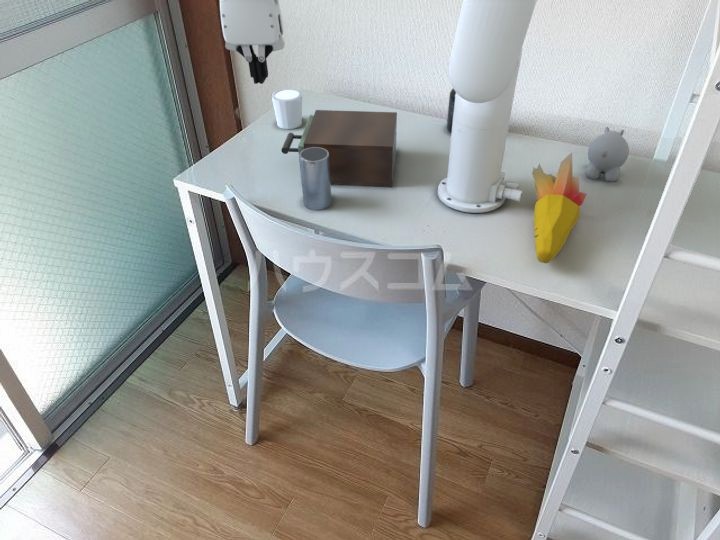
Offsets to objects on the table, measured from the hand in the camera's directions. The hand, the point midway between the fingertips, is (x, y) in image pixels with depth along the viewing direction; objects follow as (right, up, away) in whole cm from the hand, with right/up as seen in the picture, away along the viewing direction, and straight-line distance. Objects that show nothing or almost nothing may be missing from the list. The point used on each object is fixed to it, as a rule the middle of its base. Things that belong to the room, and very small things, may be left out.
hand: (260, 80), depth 108 cm
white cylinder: (+2, -2, +25) cm, 25 cm away
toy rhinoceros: (+67, -15, +7) cm, 69 cm away
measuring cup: (+11, -23, -1) cm, 25 cm away
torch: (+51, -28, -8) cm, 59 cm away
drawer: (+13, -13, +9) cm, 21 cm away
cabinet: (+17, -14, +9) cm, 24 cm away
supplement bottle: (+41, -4, +21) cm, 47 cm away
